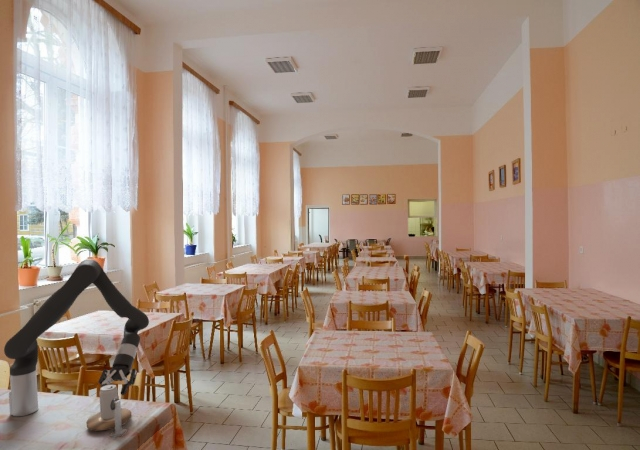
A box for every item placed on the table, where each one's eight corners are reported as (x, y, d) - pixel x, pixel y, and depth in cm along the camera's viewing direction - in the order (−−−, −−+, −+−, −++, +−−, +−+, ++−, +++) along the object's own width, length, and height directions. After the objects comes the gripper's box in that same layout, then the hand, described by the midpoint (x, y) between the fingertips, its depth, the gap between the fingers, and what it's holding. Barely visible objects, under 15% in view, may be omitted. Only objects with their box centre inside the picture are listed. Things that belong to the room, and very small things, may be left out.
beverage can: (111, 421, 167) (110, 390, 167) (96, 420, 168) (95, 389, 168) (122, 413, 173) (120, 384, 173) (107, 412, 174) (106, 383, 174)
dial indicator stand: (110, 437, 160) (108, 402, 160) (117, 430, 165) (115, 396, 165) (121, 436, 160) (119, 402, 160) (127, 430, 165) (126, 396, 164)
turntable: (77, 430, 163) (77, 427, 163) (101, 411, 179) (101, 408, 179) (118, 430, 162) (118, 427, 162) (138, 410, 178) (138, 408, 178)
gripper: (105, 353, 182) (90, 391, 171) (138, 352, 181) (125, 390, 170) (113, 361, 187) (99, 398, 176) (144, 360, 186) (132, 398, 175)
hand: (112, 394), depth 173 cm, fingers open, 8 cm apart
